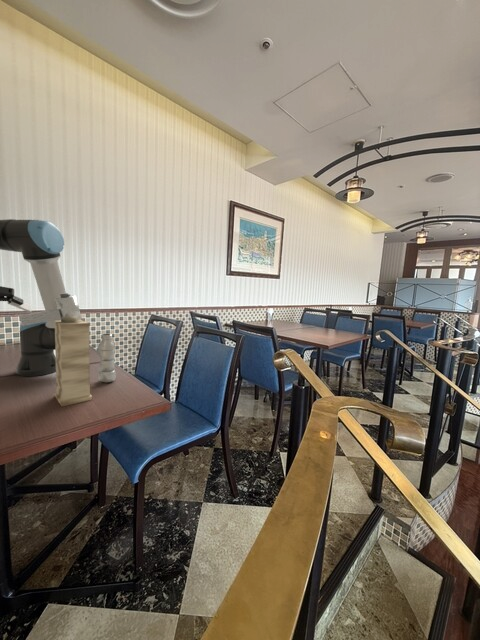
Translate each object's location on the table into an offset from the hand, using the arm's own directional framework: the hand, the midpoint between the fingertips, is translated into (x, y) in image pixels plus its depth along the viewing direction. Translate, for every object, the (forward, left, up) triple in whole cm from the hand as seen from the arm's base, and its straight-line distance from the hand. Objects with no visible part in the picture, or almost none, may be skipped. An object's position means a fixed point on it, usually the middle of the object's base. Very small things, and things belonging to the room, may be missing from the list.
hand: (13, 319), depth 83 cm
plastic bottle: (-5, +29, -28) cm, 41 cm away
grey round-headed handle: (+5, +10, -1) cm, 11 cm away
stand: (+5, +15, -28) cm, 32 cm away
